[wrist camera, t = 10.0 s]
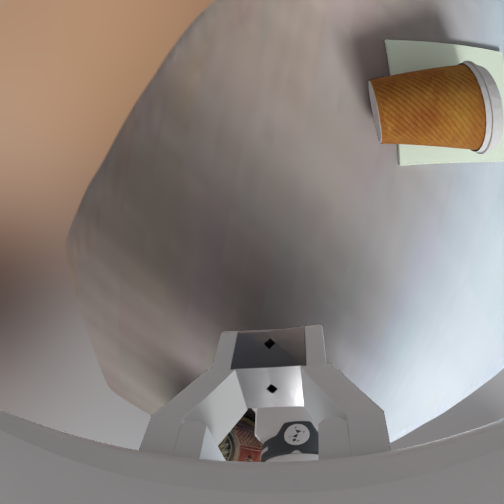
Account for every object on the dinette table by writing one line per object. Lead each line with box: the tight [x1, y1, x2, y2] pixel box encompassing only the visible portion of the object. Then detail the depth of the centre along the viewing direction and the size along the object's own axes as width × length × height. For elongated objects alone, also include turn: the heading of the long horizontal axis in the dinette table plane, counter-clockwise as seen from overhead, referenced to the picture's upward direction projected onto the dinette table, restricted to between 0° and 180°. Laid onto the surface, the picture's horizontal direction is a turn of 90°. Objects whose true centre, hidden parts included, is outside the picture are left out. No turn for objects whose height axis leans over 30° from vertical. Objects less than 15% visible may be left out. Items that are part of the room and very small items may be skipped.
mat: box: [384, 40, 504, 166], centre depth 27 cm, size 14×16×1 cm
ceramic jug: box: [218, 417, 263, 462], centre depth 46 cm, size 17×15×30 cm
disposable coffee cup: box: [368, 60, 504, 154], centre depth 24 cm, size 10×10×12 cm
